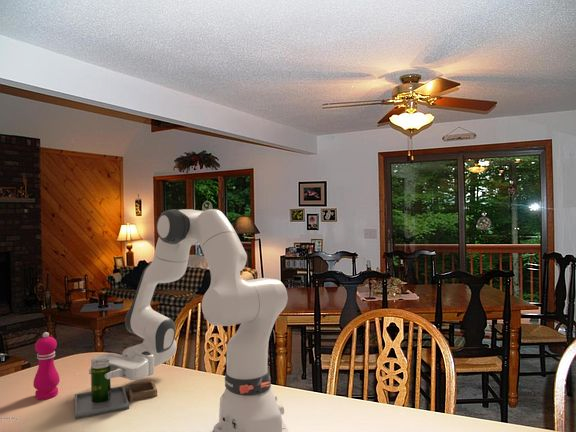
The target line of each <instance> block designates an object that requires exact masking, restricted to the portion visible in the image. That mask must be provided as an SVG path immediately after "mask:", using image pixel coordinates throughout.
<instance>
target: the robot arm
mask: <svg viewBox="0 0 576 432" xmlns="http://www.w3.org/2000/svg"><path fill="white" fill-rule="evenodd" d="M156 232H157V235H158V238H157V242H156V246H155V248H154V249H155V250H154V254H153V258H152V261H151V263H150V264H148V265H146V266H145V268H144V269H143V270H142V273H141V275H140V279H139V282H138V285H137V288H136V291H135V294H134V297H133V300H132V304H131V305H130V307H129V309H128V311H127V313H126V315H125V319H124V326H125V328H126V331H128V332H129V333H130V334H133V335H135V336H138V337H140V338H141V339H143V341H142V342H141V343H138V344H135V345H133V346H129V347H127V348H125V349H124V350H123V351H122V354H119V353H115V352H109V353H104V354H99V355H97V356H94V357H93V356H92V358H91V360H90V366H91V365H92V362H93V361H96V360H100V359H108V360H109V362H110V371H108V372H105V373H104V378H105V379H110V380H111V379H115V378H123V379H127V380H129V381H130V380H131V381H136V380H140V379H143V378H146V377H150V376H154V372H155V367H157V366H160V365H162V364H164V363H165V362H167V361H169V360H170V359H171V358H172V357H173V356H174V355H175V354H176V353H177V347H178V345H177V340H175V337H176V324H175V322H174V320H173V319H172V318H170V317H168V316H165V315H164V314H162V313H159V312H158V311H156V310H154V309H153V308H152V306H151V302H152V299H153V295H154V293H155V290H156V287H157V285H158V284H167V283H168V284H169V283H173V282H176V281H178V280H179V279H181V278H182V277H184V275H185V273H186V271H187V268H188V263H189V259H190V250H191V247H192V246H200V249H201V251H202V254H203V256H204V259H205V261H206V263H207V266H208V269H209V272H210V284H209V287H208V289H207V290H206V292H205V293H204V295H203V298H202V300H201V310H202V311H201V312H202V315H203V317H204V319H205V320H206V321H207V322H208V323H209V324H210V325H211V326H215V327H220V326H221V327H230V326H235V325H239V327H238V329H237V331H236V332H235V333H234V334H233V335H232V337H230V338H229V340H228V341H227V343H226V371H225V373H224V387H225V389H224V391H223V393H222V394H221V396H220V398H219V411H218V412H219V413H218V422H217V423H215V424H214V425H213V432H290V431H289V429H288V427H287V426H286V424H285V421H284V419H283V417H282V415H284V414H285V408H284V405H283V404H282V405H281V404H280V405H278V402H277V401H278V396H277V395H275V394H274V393H273V390H272V383H271V376H270V371H269V369H268V358H269V357H268V354H269V353H268V352H269V341H270V336H271V333H272V331H273V328H274V325H275V323H276V321H277V319H278V317H279V316H280V314H281V313H282V312H283V311H284V310H285V308H286V306H287V304H288V299H289V297H288V291H287V288H286V286H285V285H284V283H283V282H282V281H281V280H280V279H276V278H268V277H262V278H261V277H260V278H253V279H248V280H245V279H243V277H242V276H241V275H242V274H241V271H243V269H244V268H245V266H246V264H247V261H248V254H247V252H246V250H245V248H244V247H243V244H242V241H241V240H240V238H239V236H238V233H237V231H236V230H235V229H234V227H233V225H232V224H231V222H230V220H229V219H228V218H227V216H226V215H225V214H224V212H223V211H221V210H219V209H217V208H210V209H209V208H208V209H205V210H199V209H196V210H195V209H191V208H190V209H187V208H185V209H176V208H174V209H168V210H164V211H163V212H161V214H160V215H159V216H158V218H157V222H156ZM88 374H89V375H90V376H91V367H90V368H89V370H88Z"/></svg>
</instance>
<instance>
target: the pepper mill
mask: <svg viewBox="0 0 576 432" xmlns="http://www.w3.org/2000/svg"><path fill="white" fill-rule="evenodd" d="M57 345H58V344H57V340H56V339H55V338H54V337H52V336H50V333H49V332H47V331H45V332H43V333H42V337H41V338H40V337H39V339H38V340H36V342H35V344H34V349H35V352H37V353H36V359H38V368H37V371H36V373H35V376H34V378H33V387H34V388H35V393H34V394H35V395H34V396H35V399H36V400H38V401H39V400H41V401H42V400H43V401H44V400H48V399H52V398H54V397H56V396H57V395H59V387H58V385H59V384H60V375H59V372H58V370H57V369H56V365H55V361H54V360H55V357H56V351H55V350H56V348H57Z"/></svg>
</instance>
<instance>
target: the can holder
mask: <svg viewBox="0 0 576 432" xmlns="http://www.w3.org/2000/svg"><path fill="white" fill-rule="evenodd" d="M126 387H127V388H126V391H127V396H128V398H129V399H128V400H129V402H132V401H138V400H143V399H149V398H154V397H158V388H157V387H156V384H155V382H154V380H149V381H148V380H147V381H142V382H137V383H132V384H127V385H126ZM145 389H146V390H145Z"/></svg>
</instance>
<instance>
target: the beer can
mask: <svg viewBox="0 0 576 432" xmlns="http://www.w3.org/2000/svg"><path fill="white" fill-rule="evenodd" d="M90 368H91V375H90V382H91V383H90V385H91V386H90V389H91V391H90V392H91V401H92V403H93V404H94V405H103V404H106V403H108V402H109V401H110V399H111V388H112V387H111V386H112V385H111V379H105V378H104V373H105V372H108V371H110V362H109V360H108V359H100V360H96V361H93V362H92V365H91V364H90Z"/></svg>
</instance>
